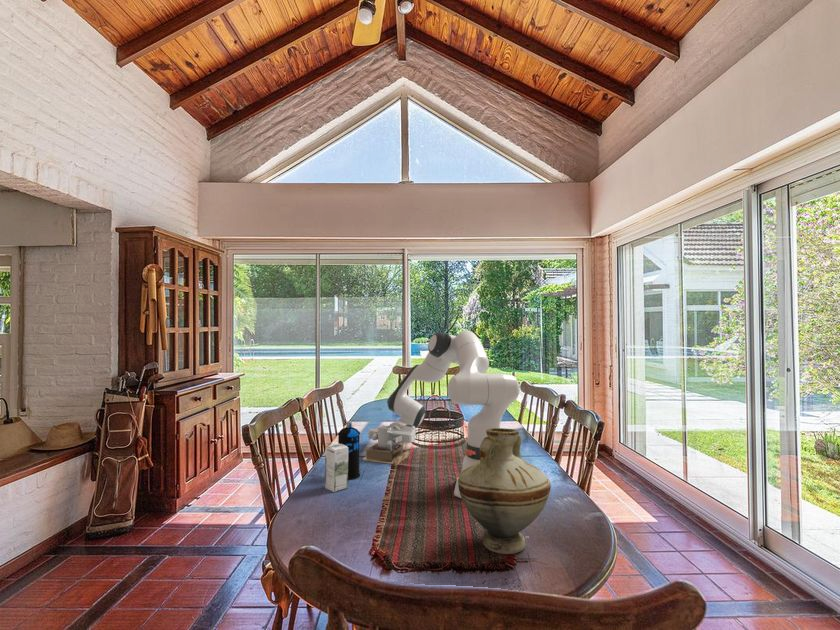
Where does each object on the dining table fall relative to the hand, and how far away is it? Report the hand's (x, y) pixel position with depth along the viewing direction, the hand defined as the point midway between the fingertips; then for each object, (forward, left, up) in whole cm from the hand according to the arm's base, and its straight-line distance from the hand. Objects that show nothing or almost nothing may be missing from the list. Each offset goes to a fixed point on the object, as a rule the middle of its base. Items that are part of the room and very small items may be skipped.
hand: (384, 439), depth 189 cm
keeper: (+1, 0, -8) cm, 8 cm away
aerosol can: (-24, +3, -8) cm, 26 cm away
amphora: (-53, -59, -8) cm, 80 cm away
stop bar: (+1, 0, -7) cm, 7 cm away
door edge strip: (0, -8, -8) cm, 11 cm away
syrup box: (-36, +1, -8) cm, 37 cm away
